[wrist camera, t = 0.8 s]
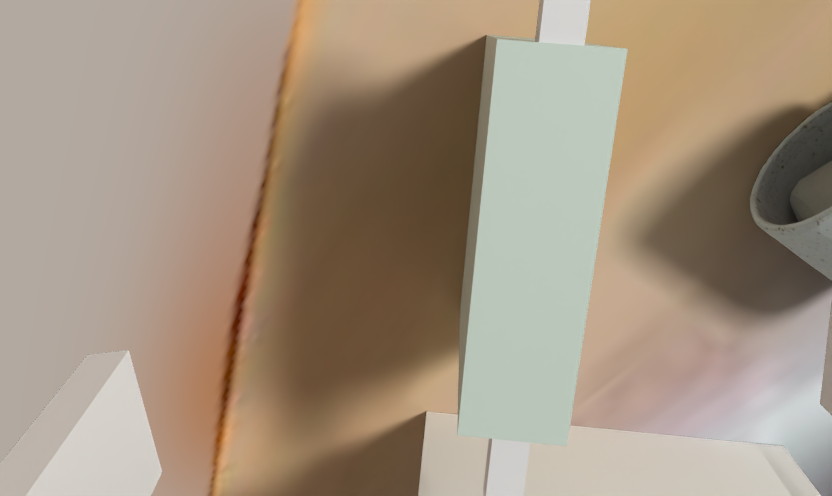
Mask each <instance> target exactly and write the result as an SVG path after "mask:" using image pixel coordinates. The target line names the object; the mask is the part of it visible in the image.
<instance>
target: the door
mask: <svg viewBox="0 0 832 496" xmlns="http://www.w3.org/2000/svg"><path fill="white" fill-rule="evenodd" d="M590 1H591V0H540V2H539V10H538V19H537V27H536V36H535V38H523V37H510V36H496V35H487V37H486V47H485V58H484V68H483V78H482V89H481V99H480V110H479V120H478V130H477V141H476V151H475V161H474V172H473V182H472V193H471V203H470V213H469V224H468V234H467V244H466V255H465V265H464V276H463V286H462V296H461V307H460V334H459V379H458V425H457V435H458V436H469V437H479V438H489V442H488V451H487V460H486V468H485V477H484V485H483V496H523V495H524V488H525V480H526V473H527V465H528V458H529V451H530V443H539V444H550V445H560V446H567V441H568V435H569V428H570V422H571V415H572V409H573V402H574V396H575V389H576V383H577V376H578V370H579V363H580V356H581V350H582V343H583V337H584V330H585V324H586V317H587V311H588V304H589V298H590V291H591V285H592V278H593V271H594V265H595V258H596V252H597V245H598V239H599V232H600V226H601V219H602V213H603V206H604V200H605V193H606V186H607V180H608V173H609V167H610V160H611V154H612V147H613V141H614V134H615V128H616V121H617V115H618V108H619V102H620V95H621V88H622V82H623V75H624V69H625V62H626V56H627V49H624V48H617V47H610V46H603V45H596V44H589V43H585V38H586V30H587V23H588V16H589V8H590Z"/></svg>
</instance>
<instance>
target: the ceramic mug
mask: <svg viewBox="0 0 832 496" xmlns="http://www.w3.org/2000/svg"><path fill="white" fill-rule="evenodd" d="M750 211H751V214H752V216H753V219H754V221H755V223H756V224H757V225H758V226H759V227H760V228H761V229H762V230H764V231H765V232H766V233H767V234H769V235H770V236H772V237H773V238H775V239H776V240H777V241H779V242H780V243H781V244H783V245H784V246H785V247H787V248H788V249H789V250H790V251H792V252H793V253H794V254H796V255H797V256H798V257H800V258H801V259H802V260H804V261H805V262H806V263H808V264H809V265H810V266H812V267H813V268H815V269H816V270H818V271H819V272H820V273H822V274H823V275H824V276H826V277H827V278H828V279H830V280H831V281H832V102H830V103H829V104H827V105H826V106H824V107H822V108H820V109H819V110H817V111H816V112H815V113H813V114H812V115H810V116H809V117H808V118H807V119H806V120H805V121H803V122H802V123H801V124H800V125H799V126H798V127H797V128H796V129H795V130H794V131H793V132H791V133H790V134H789V135H788V136H787V137H786V138H785V139H784V140H783V141H782V143H781V144H780V145H779V146H778V147H777V148H776V149H775V151H774V152H773V153H772V155H771V156H770V157H769V158H768V160H767V162H766V163H765V164H764V166H763V167H762V169H761V170H760V172H759V174H758V177H757V179H756V182H755V184H754V186H753V188H752V192H751V196H750Z"/></svg>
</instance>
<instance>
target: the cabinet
mask: <svg viewBox="0 0 832 496" xmlns="http://www.w3.org/2000/svg"><path fill="white" fill-rule="evenodd" d="M457 425H458V414H448V413H438V412H428V411H427V413H426V423H425V433H424V443H423V453H422V462H421V472H420V482H419V492H418V496H483V485H484V477H485V468H486V460H487V451H488V442H489V438H479V437H469V436H458V435H457ZM523 496H821V495H820V493H819V492H818V491H817V490H816V488H815V487H814V486H813V484H812V483H811V482H810V480H809V479H808V478H807V476H806V475H805V474H804V472H803V471H802V470H801V468H800V467H799V466H798V464H797V463H796V462H795V460H794V459H793V458H792V457H791V455H790V454H789V453H788V451H787V450H786V449H785V447H784V446H778V445H768V444H758V443H747V442H737V441H727V440H716V439H706V438H696V437H685V436H675V435H665V434H655V433H644V432H634V431H624V430H613V429H603V428H593V427H582V426H572V425H570V428H569V435H568V441H567V446H560V445H550V444H539V443H530V451H529V458H528V465H527V473H526V480H525V488H524V495H523Z"/></svg>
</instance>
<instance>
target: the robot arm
mask: <svg viewBox="0 0 832 496" xmlns="http://www.w3.org/2000/svg"><path fill="white" fill-rule="evenodd" d="M820 404H821V405H822V406H823V407H824V408H825V409H826V410H827V411H828V412H829V413H830V414H831V415H832V302H831V311H830V320H829V329H828V337H827V346H826V355H825V364H824V373H823V382H822V391H821V399H820ZM161 473H162V469H161V466H160V462H159V458H158V455H157V452H156V448H155V444H154V441H153V437H152V433H151V429H150V426H149V422H148V419H147V415H146V411H145V408H144V404H143V400H142V397H141V393H140V389H139V386H138V382H137V378H136V375H135V371H134V368H133V364H132V360H131V357H130V353H129V350H125V351H116V352H106V353H97V354H88V355H87V356H86V357H85V359H84V360H83V361H82V362H81V364H80V365H79V366H78V367H77V369H76V370H75V371H74V372H73V374H72V375H71V376H70V377H69V379H68V380H67V381H66V382H65V383H64V385H63V386H62V387H61V389H60V390H59V391H58V392H57V393H56V395H55V396H54V397H53V398H52V400H51V401H50V402H49V403H48V405H47V406H46V407H45V408H44V409H43V411H42V412H41V413H40V415H39V416H38V417H37V418H36V419H35V421H34V422H33V423H32V424H31V426H30V427H29V428H28V429H27V431H26V432H25V433H24V434H23V436H22V437H21V438H20V439H19V440H18V442H17V443H16V444H15V445H14V447H13V448H12V449H11V450H10V452H9V453H8V454H7V455H6V457H5V458H4V459H3V460H2V462H1V463H0V496H151V495H152V493H153V490H154V488H155V486H156V484H157V482H158V480H159V478H160V475H161Z"/></svg>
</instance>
